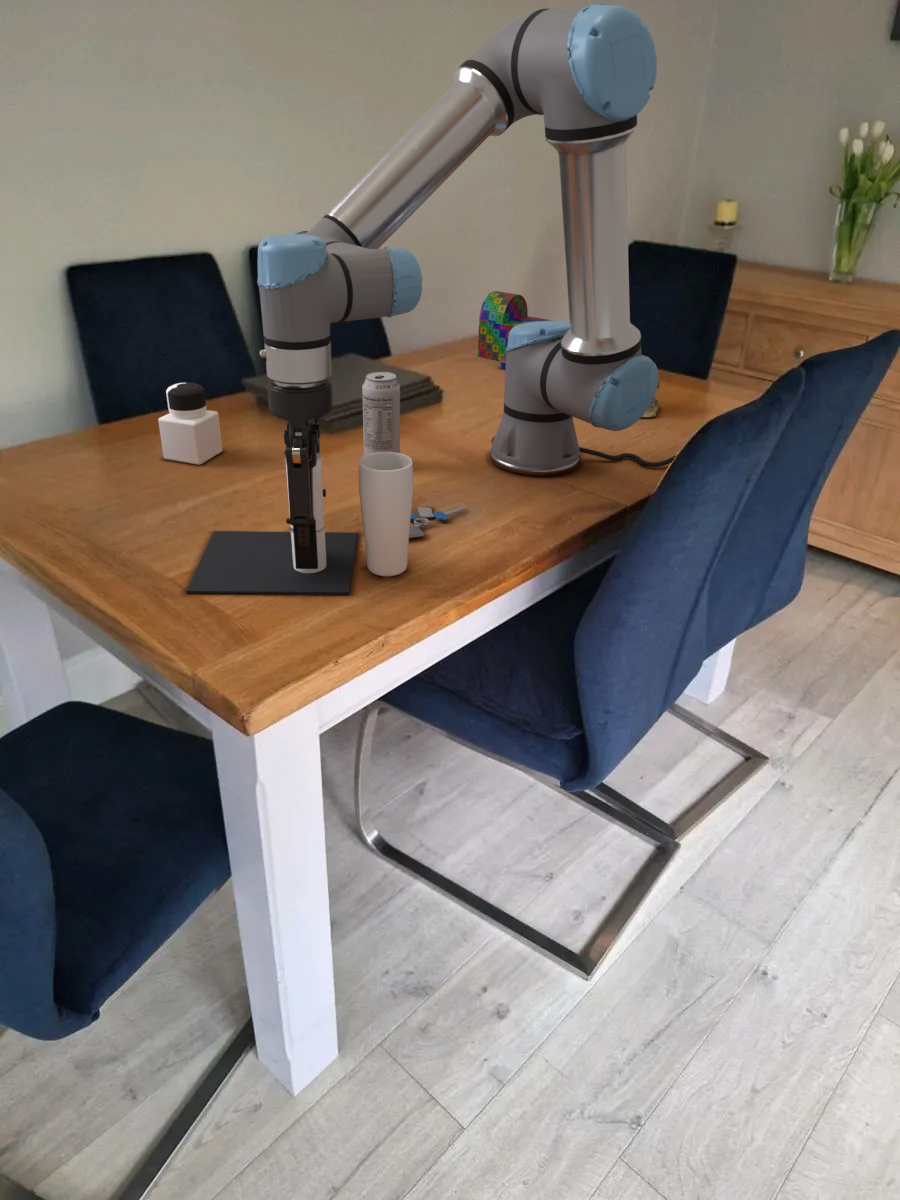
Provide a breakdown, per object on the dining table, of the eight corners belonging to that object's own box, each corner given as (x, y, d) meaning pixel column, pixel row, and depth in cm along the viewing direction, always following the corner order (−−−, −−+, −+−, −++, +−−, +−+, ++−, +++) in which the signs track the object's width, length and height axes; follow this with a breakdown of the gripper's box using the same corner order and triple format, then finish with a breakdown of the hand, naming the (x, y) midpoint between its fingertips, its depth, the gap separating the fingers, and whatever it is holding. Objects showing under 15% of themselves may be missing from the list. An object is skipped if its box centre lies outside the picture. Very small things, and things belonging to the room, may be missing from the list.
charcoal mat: (357, 535, 123) (357, 532, 123) (349, 595, 109) (349, 592, 109) (214, 533, 123) (214, 530, 122) (186, 593, 108) (186, 590, 108)
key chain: (414, 544, 121) (414, 538, 121) (366, 529, 125) (366, 524, 124) (466, 510, 131) (466, 505, 131) (420, 497, 135) (420, 492, 135)
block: (465, 361, 205) (467, 298, 198) (503, 347, 217) (506, 287, 210) (559, 380, 193) (564, 314, 186) (593, 364, 205) (600, 302, 198)
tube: (329, 558, 116) (324, 451, 109) (322, 574, 112) (316, 464, 105) (297, 556, 116) (290, 449, 109) (289, 571, 113) (281, 461, 105)
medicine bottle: (223, 451, 150) (215, 382, 144) (200, 465, 144) (191, 394, 138) (187, 445, 152) (178, 377, 146) (163, 459, 146) (152, 388, 140)
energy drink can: (406, 462, 148) (406, 374, 141) (389, 473, 143) (388, 383, 136) (375, 455, 150) (373, 368, 143) (357, 467, 146) (355, 377, 138)
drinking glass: (361, 557, 118) (358, 451, 110) (411, 556, 118) (412, 450, 111) (361, 581, 112) (358, 471, 104) (414, 580, 112) (414, 470, 105)
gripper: (278, 357, 110) (290, 524, 122) (253, 403, 94) (270, 591, 105) (338, 358, 110) (344, 525, 122) (324, 404, 94) (332, 591, 106)
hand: (309, 555), depth 114 cm, fingers open, 6 cm apart
